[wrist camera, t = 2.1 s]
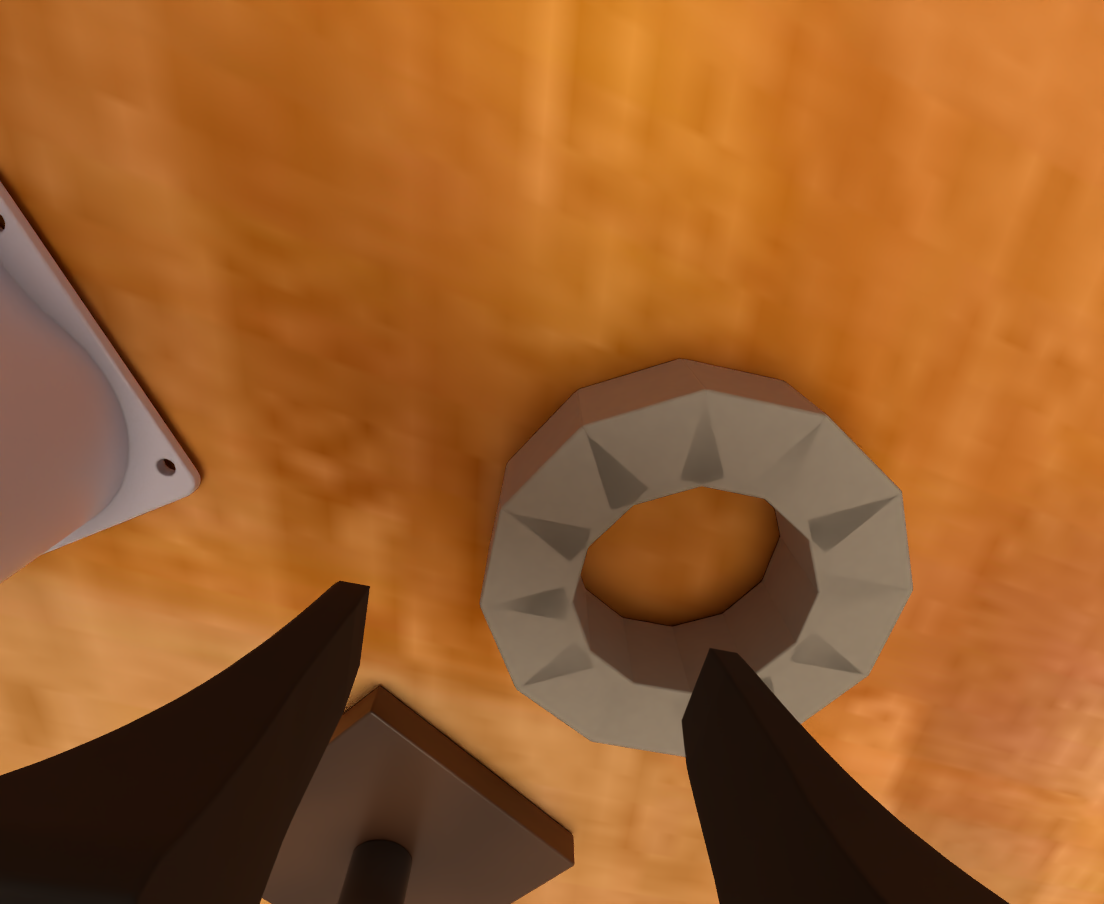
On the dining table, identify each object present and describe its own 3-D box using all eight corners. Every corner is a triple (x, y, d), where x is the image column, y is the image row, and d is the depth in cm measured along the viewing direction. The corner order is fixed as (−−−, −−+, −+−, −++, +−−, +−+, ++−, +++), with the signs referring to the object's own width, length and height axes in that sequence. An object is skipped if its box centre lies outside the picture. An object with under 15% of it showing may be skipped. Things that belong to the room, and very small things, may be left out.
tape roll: (441, 430, 18) (420, 474, 15) (829, 312, 17) (885, 335, 14) (556, 712, 22) (558, 788, 19) (876, 634, 21) (927, 703, 18)
